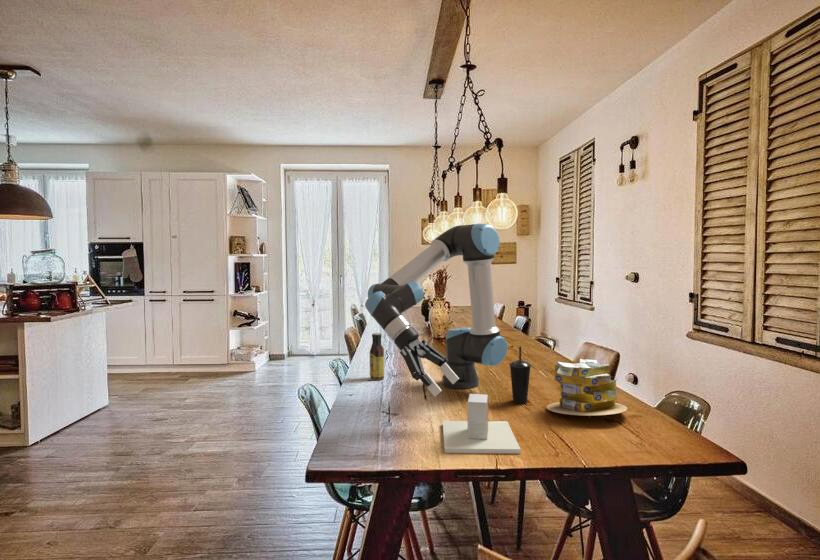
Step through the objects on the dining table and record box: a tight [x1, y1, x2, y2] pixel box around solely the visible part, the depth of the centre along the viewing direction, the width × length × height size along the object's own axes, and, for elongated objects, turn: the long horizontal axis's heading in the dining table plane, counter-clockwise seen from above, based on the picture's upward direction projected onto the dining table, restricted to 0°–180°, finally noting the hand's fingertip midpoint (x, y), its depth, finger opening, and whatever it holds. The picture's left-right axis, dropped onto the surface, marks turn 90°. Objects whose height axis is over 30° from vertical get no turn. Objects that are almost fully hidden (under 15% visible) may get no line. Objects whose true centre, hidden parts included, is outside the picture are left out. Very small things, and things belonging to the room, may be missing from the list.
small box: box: [466, 393, 489, 439], centre depth 128 cm, size 8×6×10 cm
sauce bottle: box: [369, 332, 385, 381], centre depth 191 cm, size 7×6×20 cm
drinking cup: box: [508, 346, 532, 405], centre depth 159 cm, size 8×8×20 cm
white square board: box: [442, 420, 522, 455], centre depth 128 cm, size 20×20×1 cm
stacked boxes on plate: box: [546, 361, 628, 419], centre depth 147 cm, size 25×25×17 cm
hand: (447, 387), depth 132 cm, fingers open, 13 cm apart
